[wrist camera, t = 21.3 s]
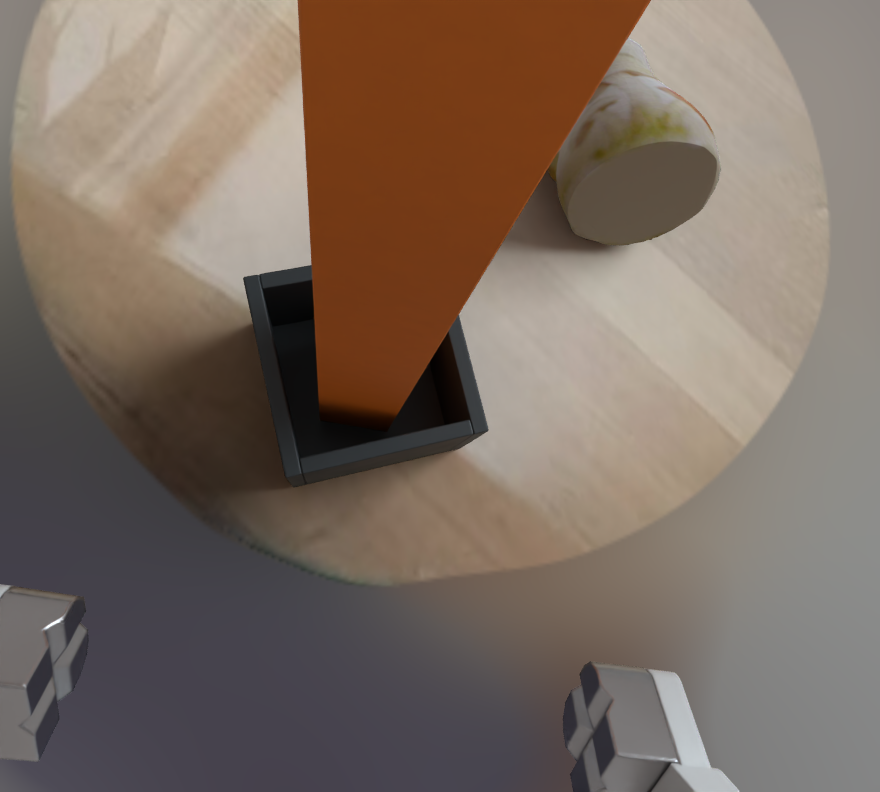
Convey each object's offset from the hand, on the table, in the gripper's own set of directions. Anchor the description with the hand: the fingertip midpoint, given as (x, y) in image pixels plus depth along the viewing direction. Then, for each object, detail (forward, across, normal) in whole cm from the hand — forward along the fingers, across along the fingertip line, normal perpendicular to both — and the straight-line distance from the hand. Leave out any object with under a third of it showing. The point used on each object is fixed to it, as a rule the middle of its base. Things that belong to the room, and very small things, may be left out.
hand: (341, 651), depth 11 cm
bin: (+19, 0, +7) cm, 21 cm away
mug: (+29, -9, -2) cm, 31 cm away
